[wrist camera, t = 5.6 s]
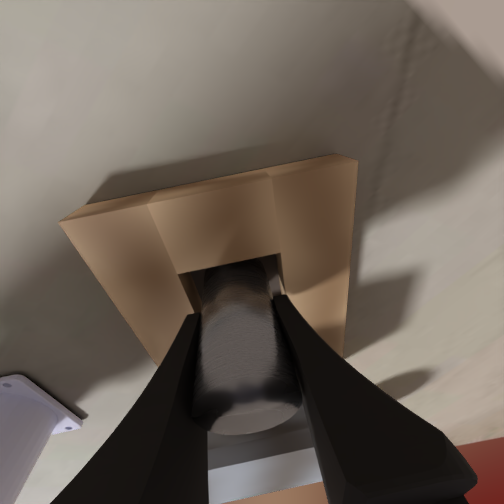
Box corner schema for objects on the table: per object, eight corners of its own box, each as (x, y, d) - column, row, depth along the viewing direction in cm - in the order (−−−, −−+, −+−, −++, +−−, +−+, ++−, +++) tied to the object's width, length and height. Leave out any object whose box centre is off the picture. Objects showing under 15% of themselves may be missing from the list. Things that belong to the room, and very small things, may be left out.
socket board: (198, 396, 20) (189, 510, 14) (84, 205, 10) (-85, 315, 5) (330, 367, 20) (374, 469, 14) (336, 153, 11) (475, 199, 5)
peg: (217, 306, 14) (215, 443, 8) (194, 262, 12) (171, 398, 6) (271, 290, 14) (309, 417, 8) (256, 243, 12) (292, 364, 6)
